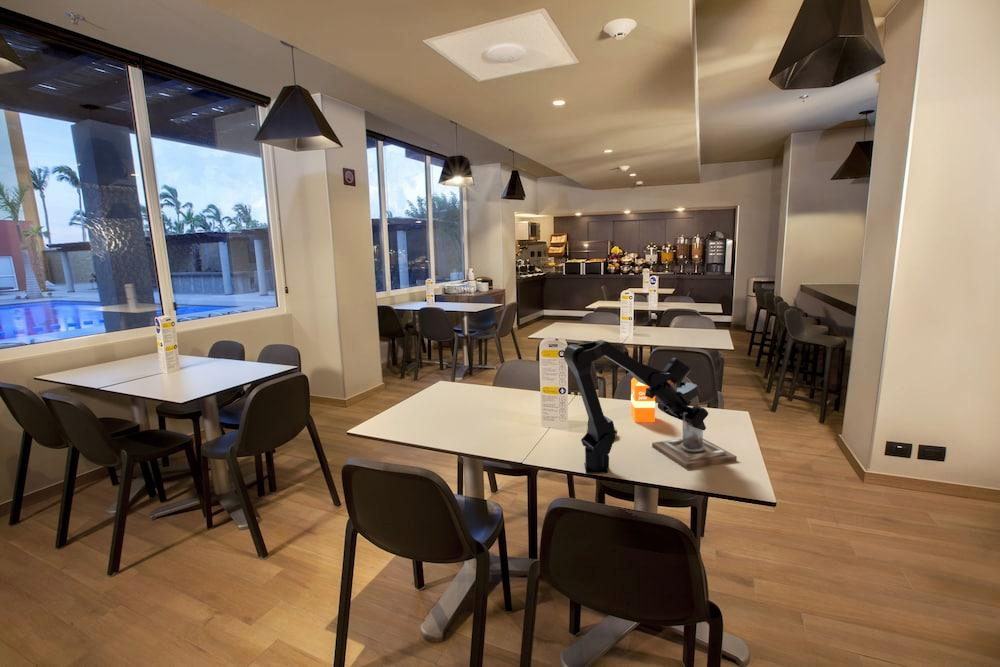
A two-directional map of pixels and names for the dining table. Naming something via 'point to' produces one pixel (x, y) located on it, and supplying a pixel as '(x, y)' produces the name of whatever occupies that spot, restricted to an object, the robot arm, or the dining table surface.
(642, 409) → the orange juice
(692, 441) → the silver metal cup
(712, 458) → the bronze base
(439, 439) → the dining table surface
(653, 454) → the dining table surface
